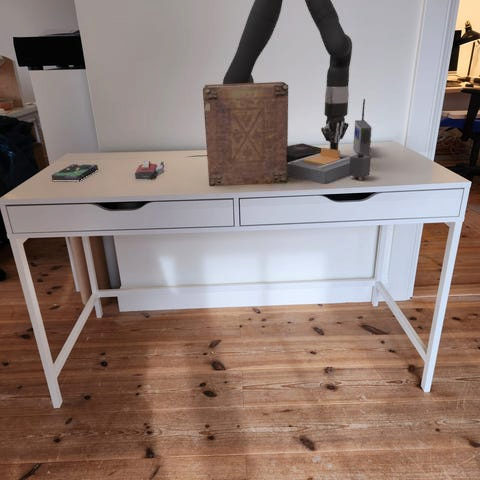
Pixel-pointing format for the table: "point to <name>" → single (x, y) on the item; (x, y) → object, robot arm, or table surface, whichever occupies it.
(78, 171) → the disk drive
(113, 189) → the table surface
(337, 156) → the shutter
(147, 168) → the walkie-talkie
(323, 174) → the socket block
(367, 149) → the electronic device
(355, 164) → the plug
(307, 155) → the portable cd player
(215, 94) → the book
